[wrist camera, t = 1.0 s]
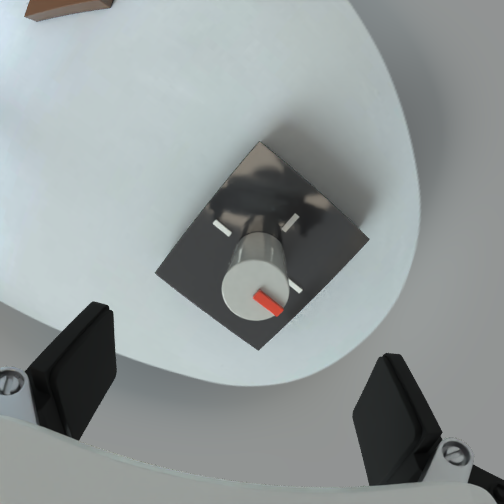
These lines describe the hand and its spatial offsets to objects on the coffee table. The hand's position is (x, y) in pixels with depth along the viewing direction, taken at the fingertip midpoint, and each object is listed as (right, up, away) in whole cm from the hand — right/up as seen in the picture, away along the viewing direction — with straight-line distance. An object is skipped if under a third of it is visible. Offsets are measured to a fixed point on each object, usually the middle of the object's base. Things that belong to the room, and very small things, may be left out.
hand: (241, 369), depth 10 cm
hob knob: (+1, +4, +12) cm, 12 cm away
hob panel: (+1, +4, +15) cm, 16 cm away
